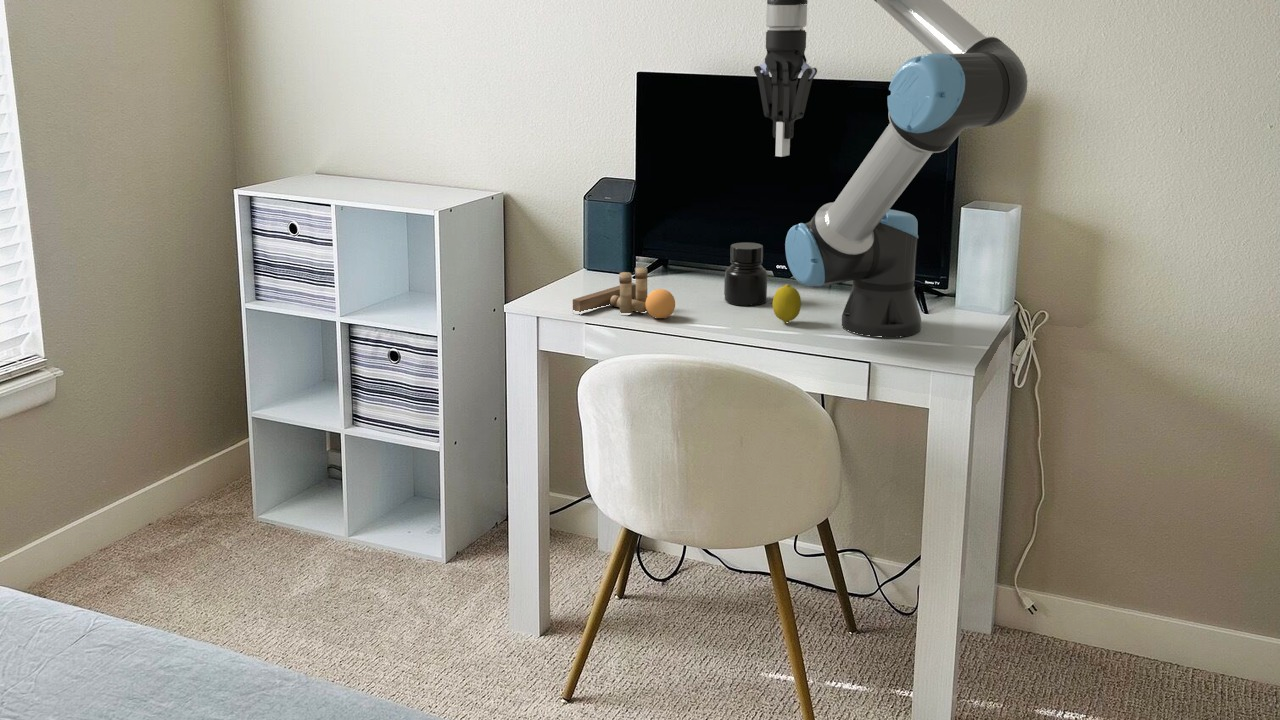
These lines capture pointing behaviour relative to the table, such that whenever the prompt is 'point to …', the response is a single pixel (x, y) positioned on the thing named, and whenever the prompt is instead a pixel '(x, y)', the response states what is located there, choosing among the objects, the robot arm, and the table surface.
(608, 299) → the rail
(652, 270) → the table surface
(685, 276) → the table surface
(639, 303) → the pin front
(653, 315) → the ball
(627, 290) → the pin
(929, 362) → the table surface
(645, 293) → the pin
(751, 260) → the ink bottle
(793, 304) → the lemon
